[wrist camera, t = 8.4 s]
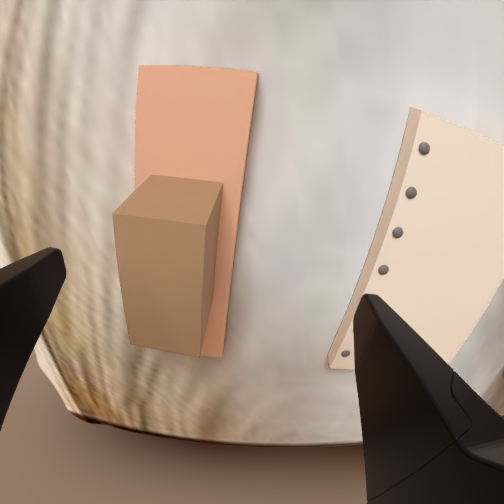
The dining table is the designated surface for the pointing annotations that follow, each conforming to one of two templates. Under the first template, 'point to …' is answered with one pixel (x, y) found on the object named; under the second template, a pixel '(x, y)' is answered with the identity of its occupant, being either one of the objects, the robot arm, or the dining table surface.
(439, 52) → the dining table surface
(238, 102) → the stub
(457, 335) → the board
